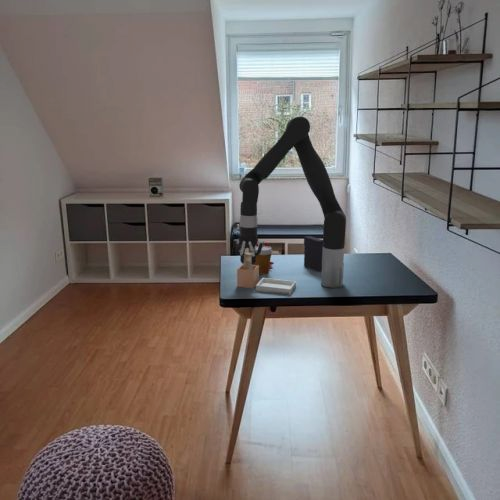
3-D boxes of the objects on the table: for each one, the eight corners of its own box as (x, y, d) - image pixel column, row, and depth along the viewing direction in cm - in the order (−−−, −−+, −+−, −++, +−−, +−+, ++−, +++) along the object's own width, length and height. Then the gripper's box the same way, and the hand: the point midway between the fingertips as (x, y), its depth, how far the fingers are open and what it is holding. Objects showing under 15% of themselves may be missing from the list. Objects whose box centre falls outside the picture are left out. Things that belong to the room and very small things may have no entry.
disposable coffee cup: (270, 276, 234) (270, 251, 230) (250, 274, 235) (250, 249, 232) (273, 270, 243) (273, 246, 239) (253, 268, 244) (254, 244, 241)
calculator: (324, 270, 243) (325, 240, 239) (317, 271, 241) (319, 241, 237) (309, 264, 252) (310, 235, 248) (302, 266, 250) (304, 236, 246)
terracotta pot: (258, 282, 224) (258, 265, 222) (253, 288, 217) (254, 270, 215) (242, 281, 226) (242, 264, 224) (237, 286, 219) (237, 268, 217)
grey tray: (295, 286, 220) (295, 281, 219) (290, 294, 210) (290, 289, 209) (262, 282, 224) (262, 277, 224) (255, 290, 214) (255, 285, 213)
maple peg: (253, 283, 223) (254, 253, 219) (250, 286, 219) (251, 255, 216) (244, 282, 224) (245, 252, 220) (242, 285, 220) (242, 254, 217)
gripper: (266, 224, 216) (266, 262, 221) (235, 222, 220) (235, 259, 225) (262, 228, 209) (261, 267, 214) (229, 225, 213) (229, 264, 218)
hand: (248, 263), depth 219 cm, fingers closed on maple peg, 4 cm apart
